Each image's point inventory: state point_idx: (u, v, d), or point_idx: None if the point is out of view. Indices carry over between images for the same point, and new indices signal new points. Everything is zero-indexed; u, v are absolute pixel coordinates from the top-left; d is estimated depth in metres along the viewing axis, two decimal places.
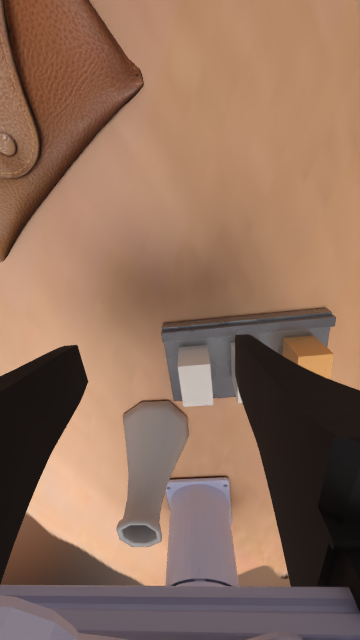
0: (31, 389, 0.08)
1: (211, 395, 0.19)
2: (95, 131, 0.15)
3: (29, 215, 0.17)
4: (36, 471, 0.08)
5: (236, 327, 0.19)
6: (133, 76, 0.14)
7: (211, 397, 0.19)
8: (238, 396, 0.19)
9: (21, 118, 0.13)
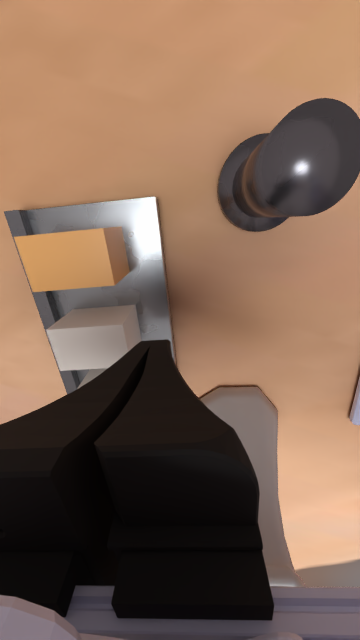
0: (135, 384, 0.08)
1: None
2: None
3: None
4: None
5: None
6: None
7: None
8: None
9: None
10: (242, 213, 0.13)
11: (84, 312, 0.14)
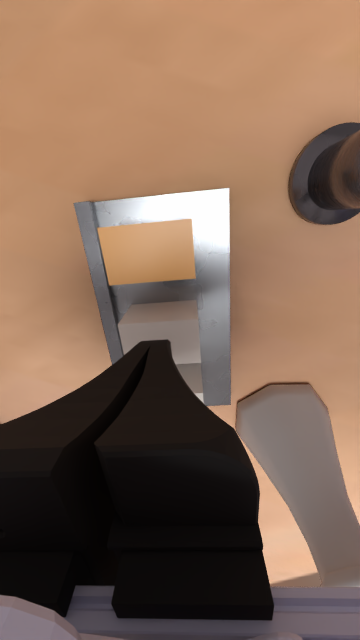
0: (135, 384, 0.08)
1: None
2: None
3: None
4: None
5: (108, 340, 0.15)
6: None
7: None
8: (188, 361, 0.12)
9: None
10: (315, 205, 0.12)
11: (146, 307, 0.14)
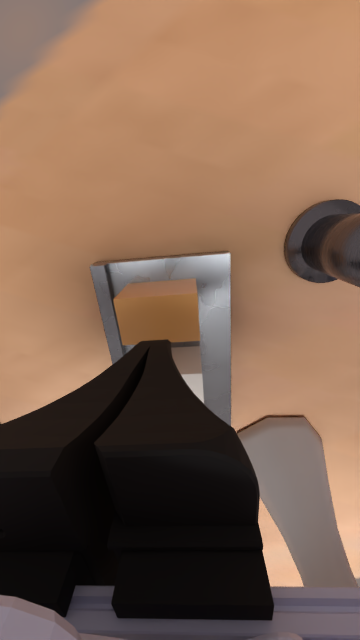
0: (135, 384, 0.08)
1: None
2: None
3: None
4: None
5: None
6: None
7: None
8: None
9: None
10: (308, 267, 0.14)
11: None
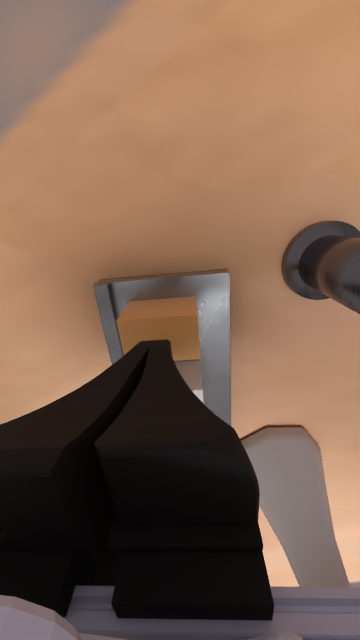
0: (136, 384, 0.08)
1: None
2: None
3: None
4: None
5: None
6: None
7: None
8: None
9: None
10: (305, 285, 0.14)
11: None
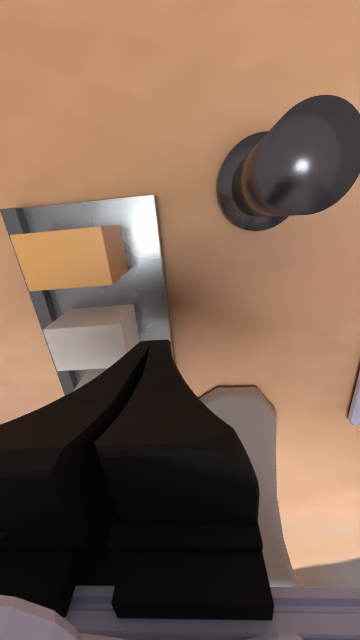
0: (135, 384, 0.08)
1: None
2: None
3: None
4: None
5: None
6: None
7: None
8: None
9: None
10: (241, 212, 0.12)
11: (81, 312, 0.14)
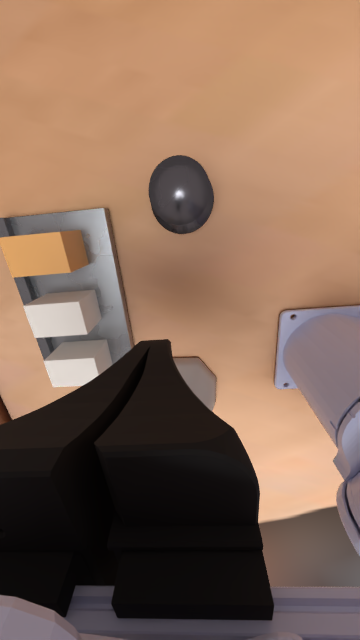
0: (135, 384, 0.08)
1: (81, 359, 0.18)
2: None
3: None
4: None
5: None
6: None
7: (84, 359, 0.18)
8: (79, 333, 0.17)
9: None
10: None
11: (54, 295, 0.18)
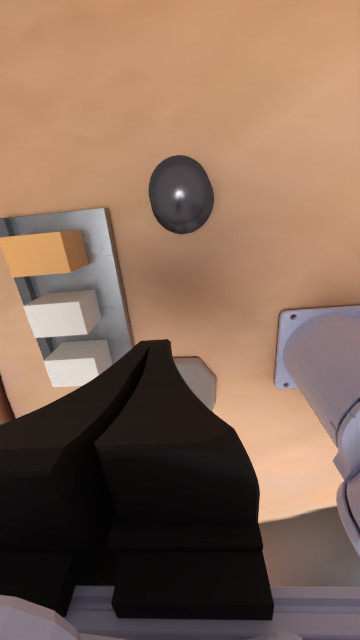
0: (135, 384, 0.08)
1: (81, 359, 0.18)
2: (3, 401, 0.24)
3: None
4: None
5: None
6: None
7: (84, 359, 0.18)
8: (79, 333, 0.17)
9: None
10: None
11: (54, 295, 0.18)
